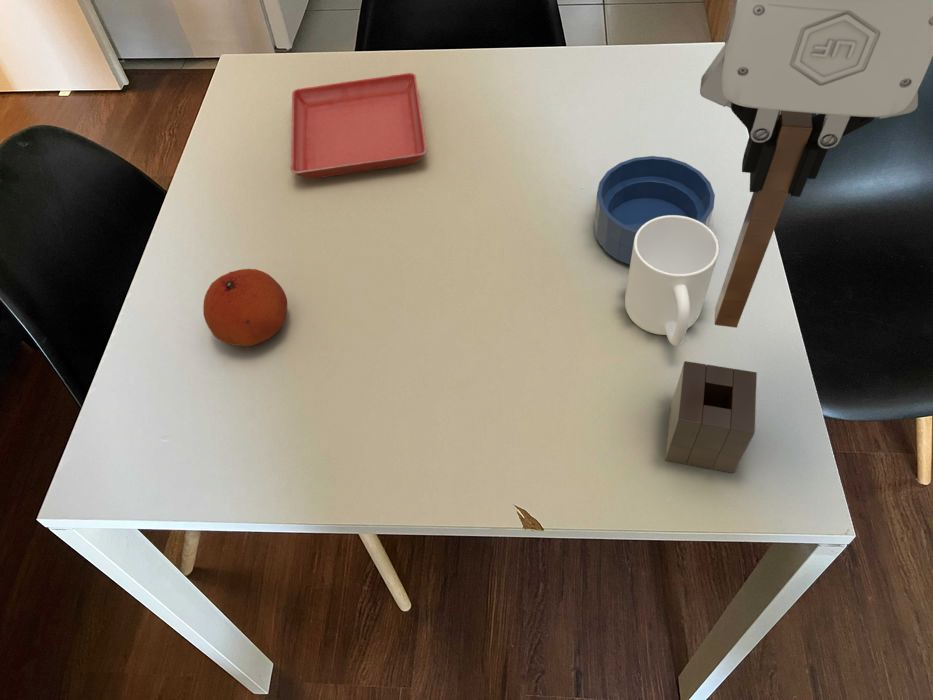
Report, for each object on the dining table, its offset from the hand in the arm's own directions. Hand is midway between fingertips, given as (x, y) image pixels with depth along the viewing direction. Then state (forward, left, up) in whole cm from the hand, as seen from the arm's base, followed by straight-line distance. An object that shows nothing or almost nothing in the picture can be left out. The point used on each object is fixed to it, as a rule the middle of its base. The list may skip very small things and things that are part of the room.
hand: (774, 178), depth 48 cm
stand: (-1, +3, -30) cm, 30 cm away
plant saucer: (+48, -35, -30) cm, 66 cm away
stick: (0, 0, -15) cm, 15 cm away
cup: (+4, -10, -30) cm, 32 cm away
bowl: (+7, -24, -30) cm, 39 cm away
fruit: (+49, -1, -30) cm, 58 cm away
